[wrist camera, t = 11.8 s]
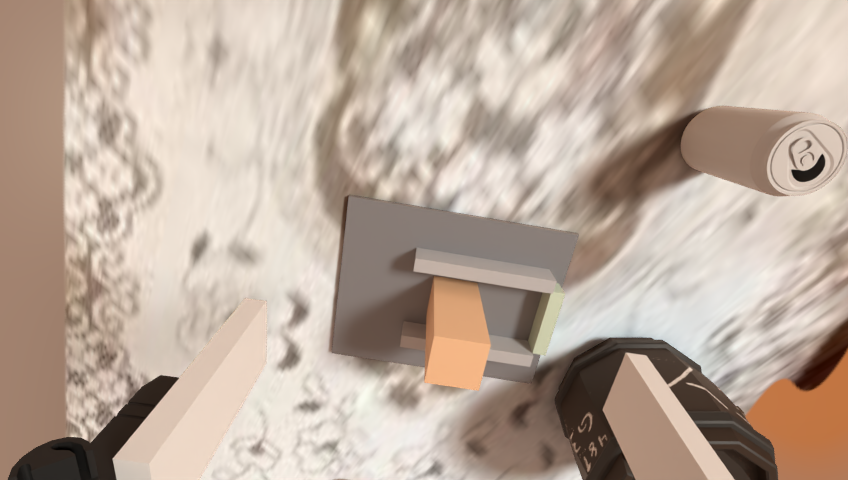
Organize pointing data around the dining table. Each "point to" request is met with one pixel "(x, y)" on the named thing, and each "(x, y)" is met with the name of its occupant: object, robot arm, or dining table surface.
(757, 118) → the beverage can
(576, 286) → the dining table surface
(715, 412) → the wooden barrel
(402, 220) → the end holder
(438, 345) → the block
